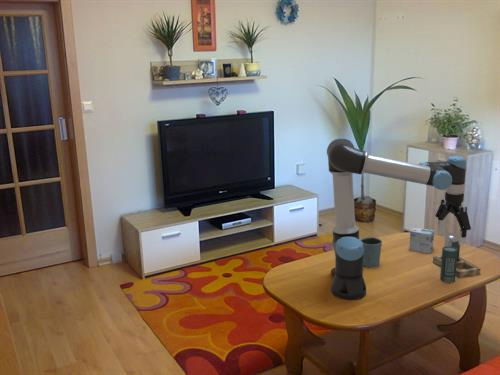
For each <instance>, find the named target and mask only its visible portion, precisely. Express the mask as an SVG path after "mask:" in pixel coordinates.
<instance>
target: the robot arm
mask: <svg viewBox="0 0 500 375" xmlns="http://www.w3.org/2000/svg"><path fill="white" fill-rule="evenodd" d="M326 156H327V160H328V161H327V162H328V163H327V164H328V171H329V173H331V175H332V186H333V187H332V188H333V189H332V190H333V202H334V203H333V204H334V206H333V207H334V218H335V222H334V223H335V225H334V226H333V227H332V246H333V251H334V256H335V257H334V258H335V259H334V260H335V265H334V266H335V267H334V268H335V276H333V280H332V283H331V285H330V293H331V294H332V295H333V296H334V297H335V298H338V299H341V300H348V301H351V300H352V301H354V300H360V299H362V298H364V297H365V296H367V295H366V294H367V286H366V283H365V279H364V274H363V272H364V266H363V253H364V246H363V243H362V241H361V239H360V228H359V226H358V225H356V219H355V198H354V197H355V196H354V177H353V174H355V175H363V174H369V175H374V176H380V177H386V178H389V179H395V180H400V181H405V182H410V183H415V184H420V185H426V186H430V187H434V188H435V189H438V190H440V191H445V193H444V199H441V200H440V204H439V206H438V208H437V211H436V214H435V218H437V219H438V223H437V224H438V231H437V232H438V233H437V234H438V235H442V234H443V235H444V234H445V228H446V217H447V216H448V214H450V213H451V214H452V215H454V217H455V218H456V221H457V223H458V225H459V228H460V229H459V232H458V233H459V234H458V235H459V240H458V241H459V245H460V246H461V245H465V244H466V238H467V234H468V232H467V231H471V230H472V227H471V223H470V219H469V215H468V207H467V206H462V203H463V202H464V199H465V195H464V192H465V186H466V182H465V181H466V175H467V174H466V173H467V159H466V157H464V156H459V155H453V156H448V157H447V160H446V161H424V162H423V161H422V162H419V163H414V162H408V161H403V160H398V159H394V158H388V157H383V156H378V155H372V154H369V153H368V152H367V151H366V150H360V149H358V148H356V147H355V145H354V144H353V142H352V141H351V140H349V139H347V138H343V137H339V138H335V139H333V140H332V141H330V142H329V144H328V146H327V148H326Z"/></svg>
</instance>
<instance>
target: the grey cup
mask: <svg viewBox="0 0 500 375" xmlns="http://www.w3.org/2000/svg"><path fill="white" fill-rule="evenodd" d="M360 240H361V241H362V243H363V246H364V253H363V267H366V268H376V267H378V266H380V259H381V252H382V244H383V241H382V239H380V238H378V237H371V236H369V237H363V238H361V239H360Z"/></svg>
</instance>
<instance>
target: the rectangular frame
mask: <svg viewBox="0 0 500 375" xmlns="http://www.w3.org/2000/svg"><path fill="white" fill-rule="evenodd" d="M441 261H442V254H441V255H436V256H433V257H432V263H433V264H435V265H436V266H438V267H440V268H441ZM481 270H482V268H480V267H479V266H477V265H475V264H473V263H471V262H469V261H468V260H466V259H465V258H463V257H460V256H459V261H457V265H456V277H455V278H457V279H463V278H468V277H475V276H479V275H481Z"/></svg>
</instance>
